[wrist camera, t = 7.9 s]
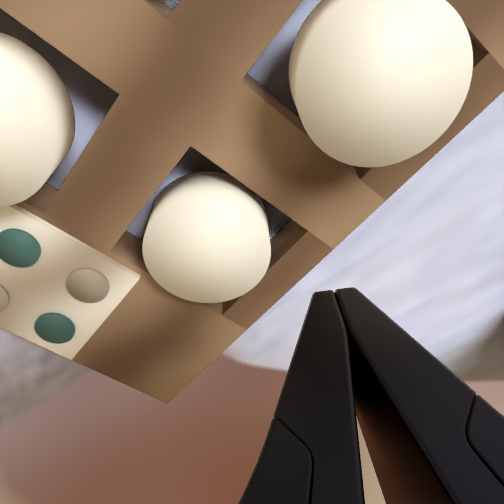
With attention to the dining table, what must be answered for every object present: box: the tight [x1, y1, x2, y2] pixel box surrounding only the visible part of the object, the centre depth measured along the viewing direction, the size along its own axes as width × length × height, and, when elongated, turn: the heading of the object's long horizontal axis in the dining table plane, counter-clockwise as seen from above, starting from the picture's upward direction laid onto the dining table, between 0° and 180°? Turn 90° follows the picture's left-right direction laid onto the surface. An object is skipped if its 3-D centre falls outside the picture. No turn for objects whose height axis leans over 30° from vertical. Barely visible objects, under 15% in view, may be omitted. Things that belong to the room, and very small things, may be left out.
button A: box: [289, 0, 473, 167], centre depth 15 cm, size 5×5×2 cm
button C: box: [142, 171, 271, 303], centre depth 20 cm, size 5×5×2 cm
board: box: [0, 0, 504, 403], centre depth 18 cm, size 18×24×2 cm
